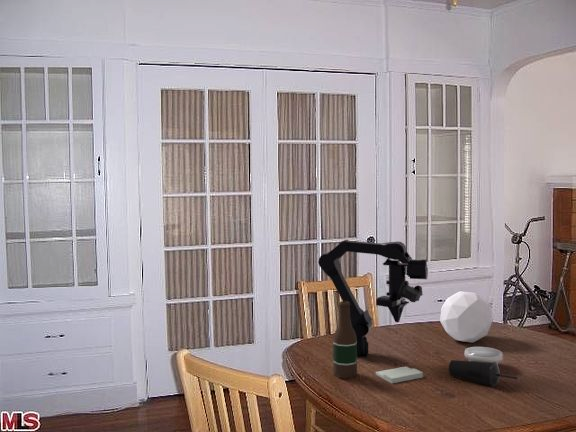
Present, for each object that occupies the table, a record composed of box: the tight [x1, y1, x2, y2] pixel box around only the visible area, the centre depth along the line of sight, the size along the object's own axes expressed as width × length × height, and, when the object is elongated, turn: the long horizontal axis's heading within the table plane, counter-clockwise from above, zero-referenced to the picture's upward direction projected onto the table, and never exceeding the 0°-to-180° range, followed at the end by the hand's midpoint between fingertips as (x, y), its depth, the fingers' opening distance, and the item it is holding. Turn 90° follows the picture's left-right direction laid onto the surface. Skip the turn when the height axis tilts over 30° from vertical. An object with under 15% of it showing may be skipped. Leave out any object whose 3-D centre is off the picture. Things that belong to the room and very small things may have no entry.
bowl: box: [464, 346, 504, 365], centre depth 188 cm, size 12×12×5 cm
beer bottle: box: [332, 300, 358, 380], centre depth 182 cm, size 8×8×24 cm
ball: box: [439, 290, 494, 343], centre depth 217 cm, size 19×20×20 cm
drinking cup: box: [448, 359, 518, 388], centre depth 174 cm, size 8×8×20 cm
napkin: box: [375, 366, 424, 384], centre depth 181 cm, size 12×9×2 cm
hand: (397, 322), depth 197 cm, fingers closed
